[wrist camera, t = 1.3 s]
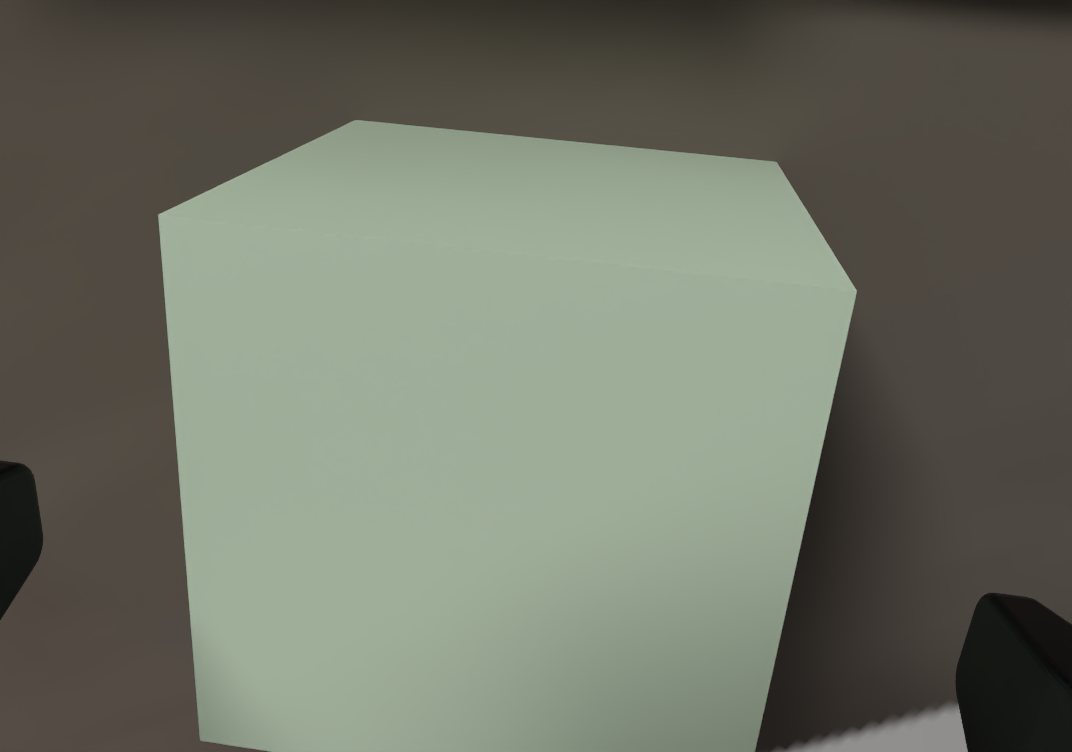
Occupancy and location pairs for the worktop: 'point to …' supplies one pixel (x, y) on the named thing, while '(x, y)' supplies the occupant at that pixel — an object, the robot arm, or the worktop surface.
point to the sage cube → (495, 441)
